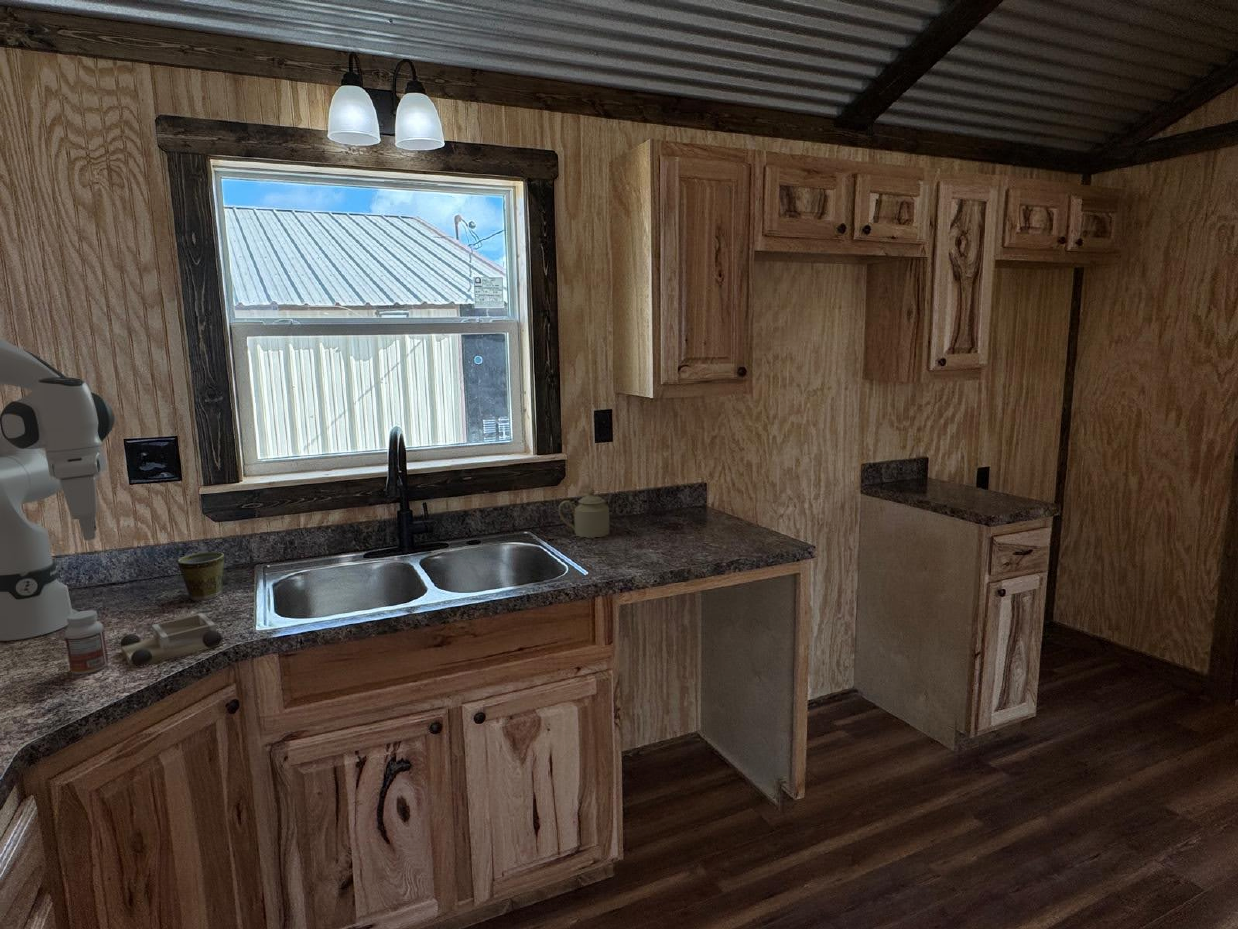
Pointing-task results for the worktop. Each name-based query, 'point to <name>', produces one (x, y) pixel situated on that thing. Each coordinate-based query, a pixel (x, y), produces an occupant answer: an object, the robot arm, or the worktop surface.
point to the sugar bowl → (589, 516)
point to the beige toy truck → (171, 640)
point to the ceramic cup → (202, 574)
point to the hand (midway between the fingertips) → (90, 535)
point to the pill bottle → (85, 643)
